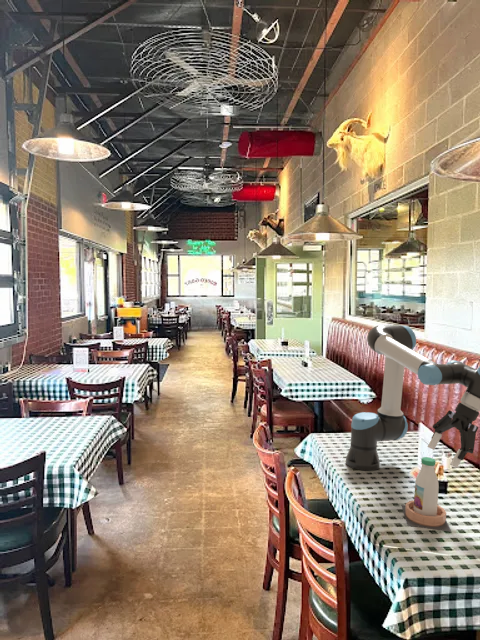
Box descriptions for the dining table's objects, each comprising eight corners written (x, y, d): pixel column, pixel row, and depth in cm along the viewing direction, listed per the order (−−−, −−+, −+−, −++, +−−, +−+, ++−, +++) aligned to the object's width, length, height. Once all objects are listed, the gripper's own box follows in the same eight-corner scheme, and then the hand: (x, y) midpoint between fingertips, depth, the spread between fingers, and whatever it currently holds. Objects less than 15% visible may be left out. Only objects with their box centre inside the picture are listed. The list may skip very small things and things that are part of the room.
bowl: (408, 523, 158) (408, 514, 158) (403, 506, 171) (403, 498, 171) (449, 529, 156) (449, 519, 156) (440, 511, 168) (441, 502, 168)
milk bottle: (435, 511, 166) (439, 457, 165) (437, 521, 159) (441, 464, 157) (413, 507, 169) (416, 453, 167) (413, 517, 161) (417, 461, 160)
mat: (407, 526, 157) (407, 525, 157) (401, 505, 173) (401, 504, 173) (451, 532, 154) (451, 531, 154) (441, 510, 170) (441, 509, 170)
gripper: (502, 424, 159) (472, 477, 161) (455, 398, 183) (429, 444, 185) (486, 417, 157) (455, 470, 159) (440, 391, 181) (414, 438, 183)
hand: (441, 456), depth 172 cm, fingers open, 13 cm apart
